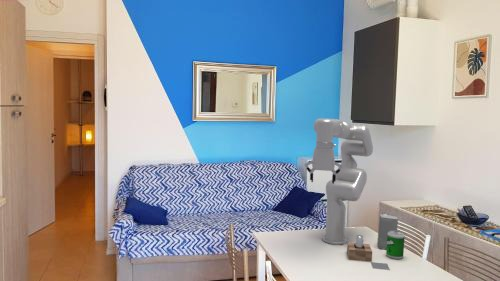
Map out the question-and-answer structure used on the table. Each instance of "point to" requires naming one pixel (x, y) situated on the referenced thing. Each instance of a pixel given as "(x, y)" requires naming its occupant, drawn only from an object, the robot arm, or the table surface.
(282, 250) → the table surface
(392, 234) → the soda can
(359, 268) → the table surface
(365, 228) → the table surface
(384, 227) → the skincare box
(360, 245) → the peg
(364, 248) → the hole block
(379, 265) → the mat
